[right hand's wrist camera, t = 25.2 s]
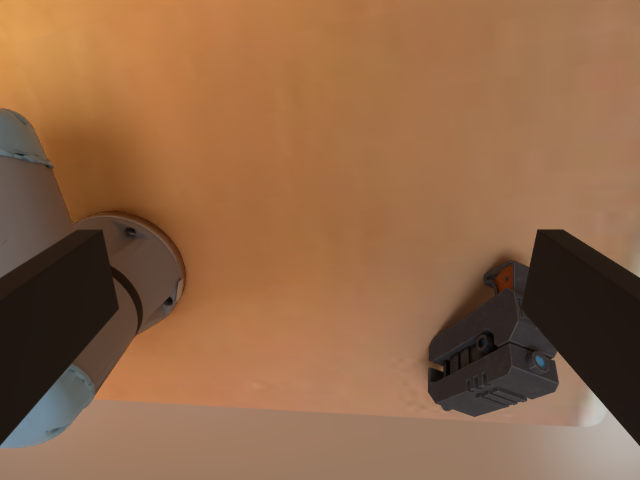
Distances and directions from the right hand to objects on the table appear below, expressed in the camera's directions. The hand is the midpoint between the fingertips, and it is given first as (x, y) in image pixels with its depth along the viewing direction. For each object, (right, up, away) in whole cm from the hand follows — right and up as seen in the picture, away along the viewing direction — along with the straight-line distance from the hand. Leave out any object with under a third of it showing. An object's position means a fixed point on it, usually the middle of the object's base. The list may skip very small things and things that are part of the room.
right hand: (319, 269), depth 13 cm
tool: (+19, -10, +41) cm, 46 cm away
